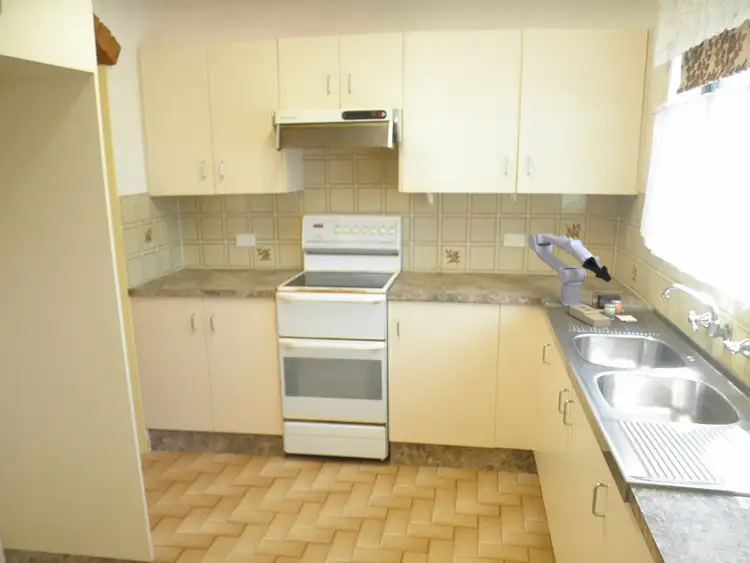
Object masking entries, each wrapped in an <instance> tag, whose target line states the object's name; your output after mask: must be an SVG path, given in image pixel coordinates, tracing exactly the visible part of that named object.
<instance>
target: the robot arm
mask: <svg viewBox="0 0 750 563" xmlns="http://www.w3.org/2000/svg"><path fill="white" fill-rule="evenodd" d="M527 239H528V240H527V241H528V246H529V248H530V249H531V250H533V251H534V253H535V254H536V256H537V257H538V259H539V260H541V261H542V262H544V263H545V264H546V265H547V266H548V267H550V268H552V270H554V271H555V272H557V278H558V279H559V280H560V282H561V284H562V285H560V286H561V287H560V297H559V301H558V302H559V303H560V304H562V305H563V306H564V307H570V306H572V305H583V303H581V302H580V300H581V288H582V287H581V286H582V285H583V283H584V282H585V281H586V278H587V274H586V273H587V272H586V271H588V272H591V273H592V272H593V273H594V274H595V275H594V276H595V278H597V279H601V280H603V281H605V282H606V283H609V282H610V281H611V280H612V276H611V275H610V274H609V270H608V267H607V266H606V265H603V266H602V265H601V263H600V260H601V257H599V255H596V256H595V255H593V254H592V253H591V252H590V251H589V250H588V249H587V248H586V247H585V246H584V242H583V241H582V240H581V239H579V238H578V239H574V238H573V237H568V236H567V235H566V234H563V235H562V234H561V235H560V236H556V235H554V234H552V233H551V232H546V233H545V232H544V233H543V232H542V233H531V234H529V236H528V238H527ZM553 245H554V246H555V247H556V248H557V249H559V250H562V251H564V252H565V254H566V255H570V256H573V258H574V259H576V260H577V262H579V264H581V266H582V267H578V266H575V265H570V264H569V263H567V262H566V261H564V260H562V259H561V258H560V257H558V256H557V255H556V254H555V253H553ZM585 270H586V271H585Z"/></svg>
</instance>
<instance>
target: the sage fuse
mask: <svg viewBox="0 0 750 563" xmlns="http://www.w3.org/2000/svg"><path fill="white" fill-rule="evenodd" d="M603 315H604V316H606V317H609V318H611V322H613V321H615V317H614V316H615V304H610V303H607V304H605V306H604V312H603Z"/></svg>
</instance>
